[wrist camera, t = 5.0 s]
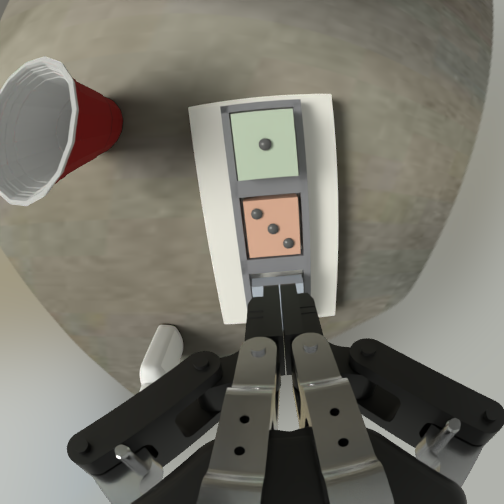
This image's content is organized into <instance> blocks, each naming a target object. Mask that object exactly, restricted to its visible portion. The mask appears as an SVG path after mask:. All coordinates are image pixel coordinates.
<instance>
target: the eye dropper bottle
mask: <svg viewBox="0 0 504 504" xmlns="http://www.w3.org/2000/svg"><path fill="white" fill-rule="evenodd" d="M182 352H183V340H182V337H181V334H180V333H179V331H178V329H177V328H176V327H175V326H172V325H163V324H162V325H159V326H158V328H157V331H156V333H155V335H154V337H153V339H152V341H151V344H150V346H149V348H148V350H147V353H146V355H145V357H144V360H143V362H142V365H141V368H140V381H141V384H142V386H141V389H140V391H142V390H143V389H145V388H146V387H147V386H149V385H150V384H152V383H153V382H155V381H156V380H157V379H159V378H160V377H162V376H163V375H164V374H166V373H167V372H169V371H170V370H171V369H173V368H174V367H176V366H177V365H178V364H179V362H180V359H181V356H182ZM140 391H139V392H140Z"/></svg>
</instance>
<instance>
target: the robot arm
mask: <svg viewBox="0 0 504 504" xmlns="http://www.w3.org/2000/svg"><path fill="white" fill-rule="evenodd" d="M280 294H281V305H280ZM280 294H279V285H268V286H263V296H262V297H253V298H252V299H251V300H250V302H249V303H248V307H247V320H246V333H245V342H244V343H243V344H242V345H241V347H240V350H239V351H238V352H236V353H235V354H233V355H230V356H227V357H223V358H219V357H218V356H217V355H216V354H214V353H212V352H207V351H203V352H197V353H194V354H192V355H191V356H189V357H188V358H187V359H185V360H184V361H182V362H181V363H180V364H178V365H177V366H176V367H174V368H173V369H171V370H170V371H169V372H167V373H166V374H164V375H163V376H162V377H160V378H159V379H157V380H156V381H155V382H153V383H152V384H150V385H149V386H147V387H146V388H145V389H143V390H142V391H140V392H139V393H137V394H136V395H134V396H133V397H132V398H130V399H129V400H127V401H126V402H124V403H123V404H121V405H120V406H118V407H117V408H115V409H114V410H113V411H111V412H109V413H108V414H106V415H105V416H103V417H102V418H100V419H98V420H97V421H95V422H94V423H92V424H91V425H89V426H88V427H86V428H85V429H83V430H81V431H80V432H78V433H77V434H75V435H74V436H73V437H72V438H71V439H70V440H69V442H68V445H67V453H68V456H69V457H70V459H71V460H72V461H73V462H74V463H76V464H77V465H78V466H80V467H81V468H82V469H83V470H84V471H85V472H86V473H88V474H89V475H91V476H92V477H93V478H94V480H95V481H96V483H97V484H98V486H99V487H100V489H101V490H102V492H103V493H104V494H105V496H106V497H107V498H108V500H109V501H110V502H111V504H467V500H466V496H465V494H464V491H463V490H462V488H461V486H462V485H463V483H464V481H465V480H466V478H467V476H468V474H469V473H470V471H471V469H472V467H473V465H474V464H475V461H476V460H477V458H478V456H479V454H480V452H481V450H482V448H483V446H484V445H485V444H486V443H487V442H488V441H489V440H490V439H491V438H492V437H493V436H494V435H495V434H496V433H497V432H498V431H499V430H500V429H501V428H502V426H503V425H504V409H503V407H502V406H501V405H500V404H499V403H498V402H496V401H494V400H492V399H490V398H488V397H486V396H484V395H482V394H480V393H478V392H476V391H474V390H472V389H470V388H468V387H466V386H464V385H462V384H460V383H458V382H456V381H454V380H452V379H450V378H448V377H446V376H444V375H442V374H440V373H438V372H436V371H434V370H432V369H431V368H428V367H427V366H425V365H423V364H421V363H419V362H417V361H415V360H413V359H411V358H409V357H407V356H405V355H404V354H402V353H400V352H398V351H396V350H394V349H392V348H390V347H388V346H386V345H385V344H383V343H381V342H379V341H377V340H374V339H360V340H358V341H356V342H355V343H353V345H352V346H351V348H349V347H341V346H336V345H333V344H331V343H329V342H328V340H327V339H326V338H325V337H324V336H323V333H322V329H321V325H320V321H319V317H318V313H317V310H316V307H315V302H314V298H312V297H311V296H310V295H309V294H308V293H298V294H297V289H296V284H295V283H291V284H280ZM281 309H282V316H281ZM282 323H283V327H282ZM283 335H284V341H283ZM284 346H285V359H286V371H287V375H292V380H293V394H294V400H295V405H296V411H297V416H298V422H299V429H298V430H295V431H290V432H288V431H280V430H278V415H279V398H280V386H281V376H282V375H285V360H284ZM361 414H362V415H364V416H365V417H367V418H368V419H370V420H371V421H373V422H374V423H376V424H377V425H379V426H380V427H382V428H384V429H385V430H387V431H388V432H390V433H391V434H393V435H395V436H396V437H398V438H400V439H401V440H403V441H404V442H406V443H408V444H409V445H411V446H413V447H415V448H416V449H415V455H416V458H415V457H414V456H412V455H411V454H409V453H407V452H406V451H404V450H403V449H401V448H400V447H399V446H397V445H396V444H394V443H393V442H391V441H390V440H388V439H387V438H385V437H384V436H382V435H381V434H379V433H377V432H376V431H374V430H371V429H368V428H366V427H365V424H364V421H363V418H362V415H361ZM218 422H219V424H218V429H217V433H216V437H215V439H214V440H212V441H210V442H208V443H206V444H205V445H203V446H202V447H201V448H199V449H198V450H197V451H196V452H195V453H194V454H192V455H191V456H190V457H189V458H188V459H187V460H186V461H184V462H183V463H182V464H181V465H180V466H178V467H177V468H176V469H175V470H174V471H173V472H171V473H170V474H169V475H168V476H166V477H165V478H164V479H163V480H162V478H163V467H164V466H165V465H166V464H168V463H169V462H170V461H171V460H173V459H174V458H175V457H177V456H178V455H179V454H180V453H182V452H183V451H184V450H185V449H187V448H188V447H189V446H190V445H191V444H193V443H194V442H195V441H197V440H198V439H199V438H200V437H201V436H202V435H204V434H205V433H206V432H207V431H208V430H210V429H211V428H212V427H213V426H214V425H215V424H216V423H218Z"/></svg>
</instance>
